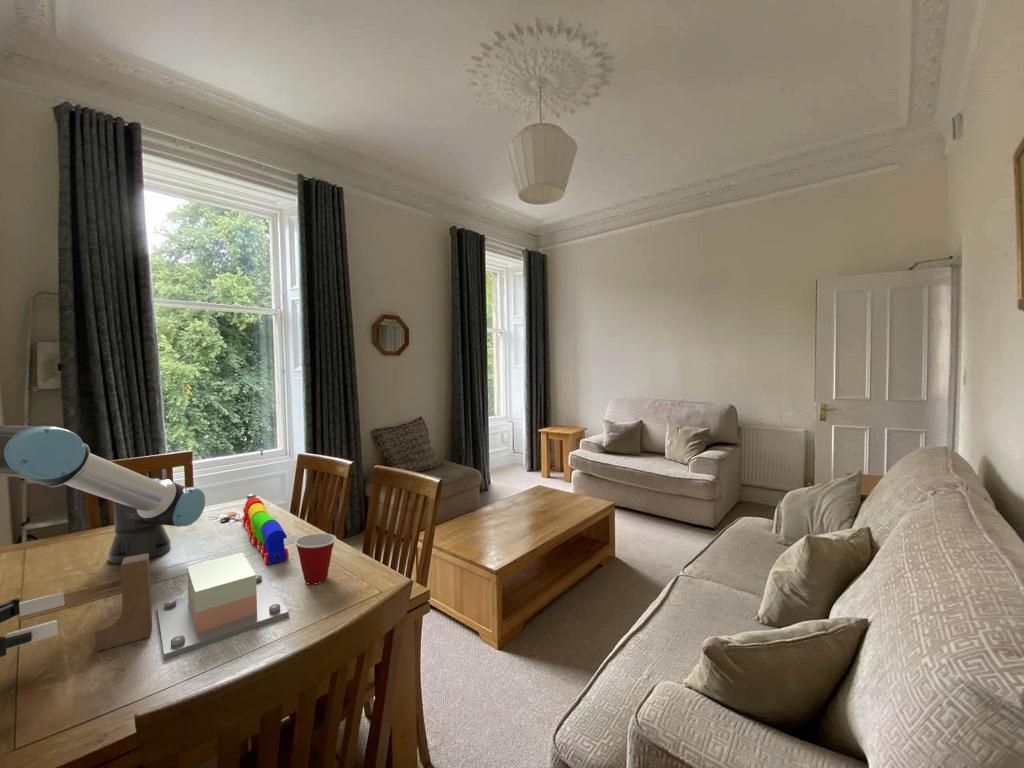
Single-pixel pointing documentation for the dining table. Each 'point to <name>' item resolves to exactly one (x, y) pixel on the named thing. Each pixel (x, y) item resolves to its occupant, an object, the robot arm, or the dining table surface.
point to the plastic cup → (315, 556)
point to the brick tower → (218, 605)
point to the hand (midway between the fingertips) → (61, 611)
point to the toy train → (264, 531)
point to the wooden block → (129, 606)
